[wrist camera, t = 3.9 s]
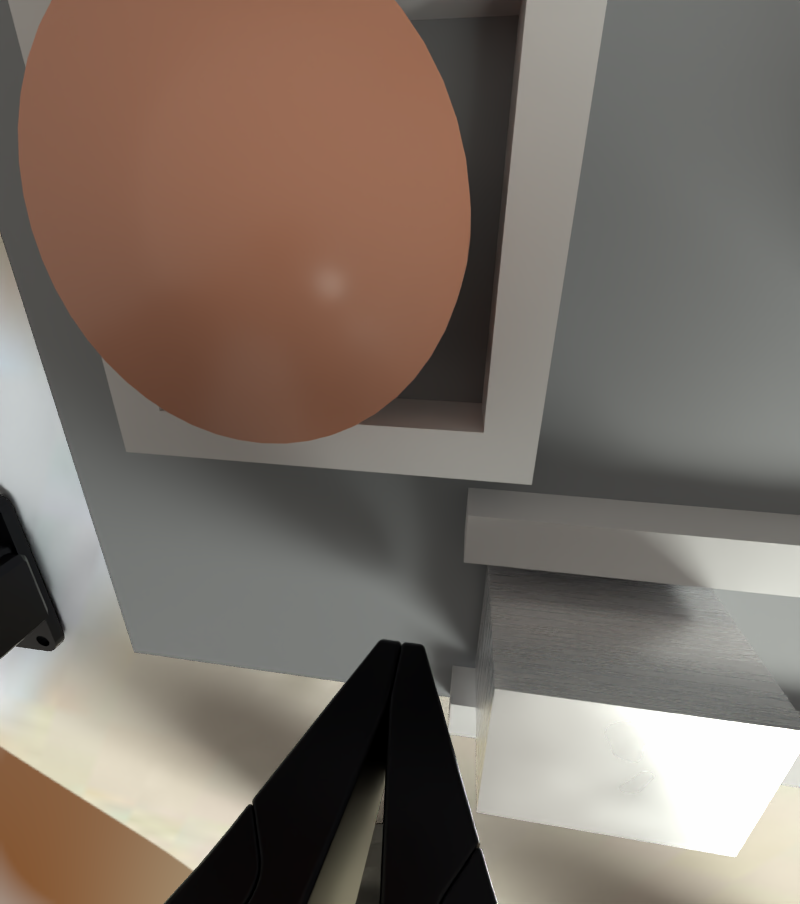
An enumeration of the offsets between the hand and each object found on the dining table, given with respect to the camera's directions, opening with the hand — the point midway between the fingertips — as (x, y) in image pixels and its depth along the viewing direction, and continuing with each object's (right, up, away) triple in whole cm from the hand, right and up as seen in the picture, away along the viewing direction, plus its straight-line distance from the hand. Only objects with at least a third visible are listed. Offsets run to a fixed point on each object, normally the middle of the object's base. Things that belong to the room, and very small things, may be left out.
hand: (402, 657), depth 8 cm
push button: (-1, +7, -2) cm, 7 cm away
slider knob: (+4, 0, +1) cm, 4 cm away
